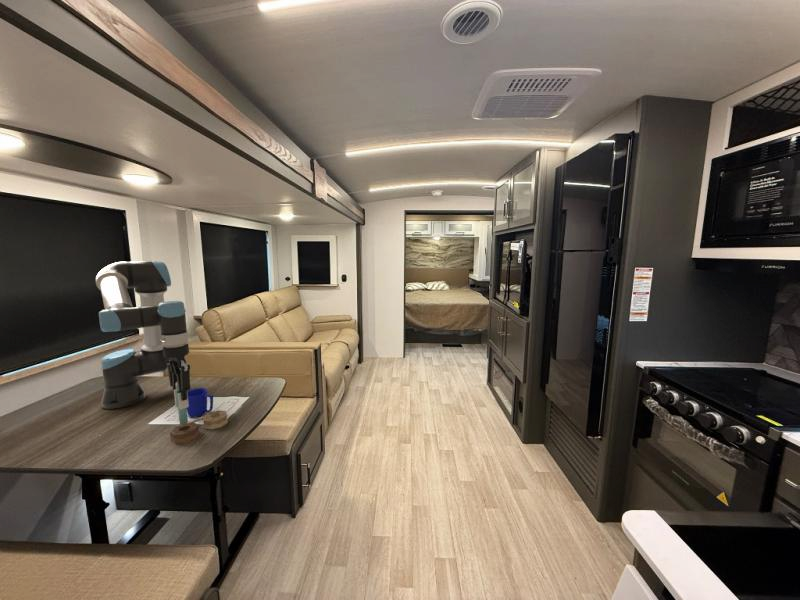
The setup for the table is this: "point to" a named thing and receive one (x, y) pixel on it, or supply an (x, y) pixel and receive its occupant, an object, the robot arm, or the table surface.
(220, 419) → the maple bead
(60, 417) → the table surface
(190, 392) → the mug
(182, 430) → the walnut bead
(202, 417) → the thin beige rod
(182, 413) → the teal rod
